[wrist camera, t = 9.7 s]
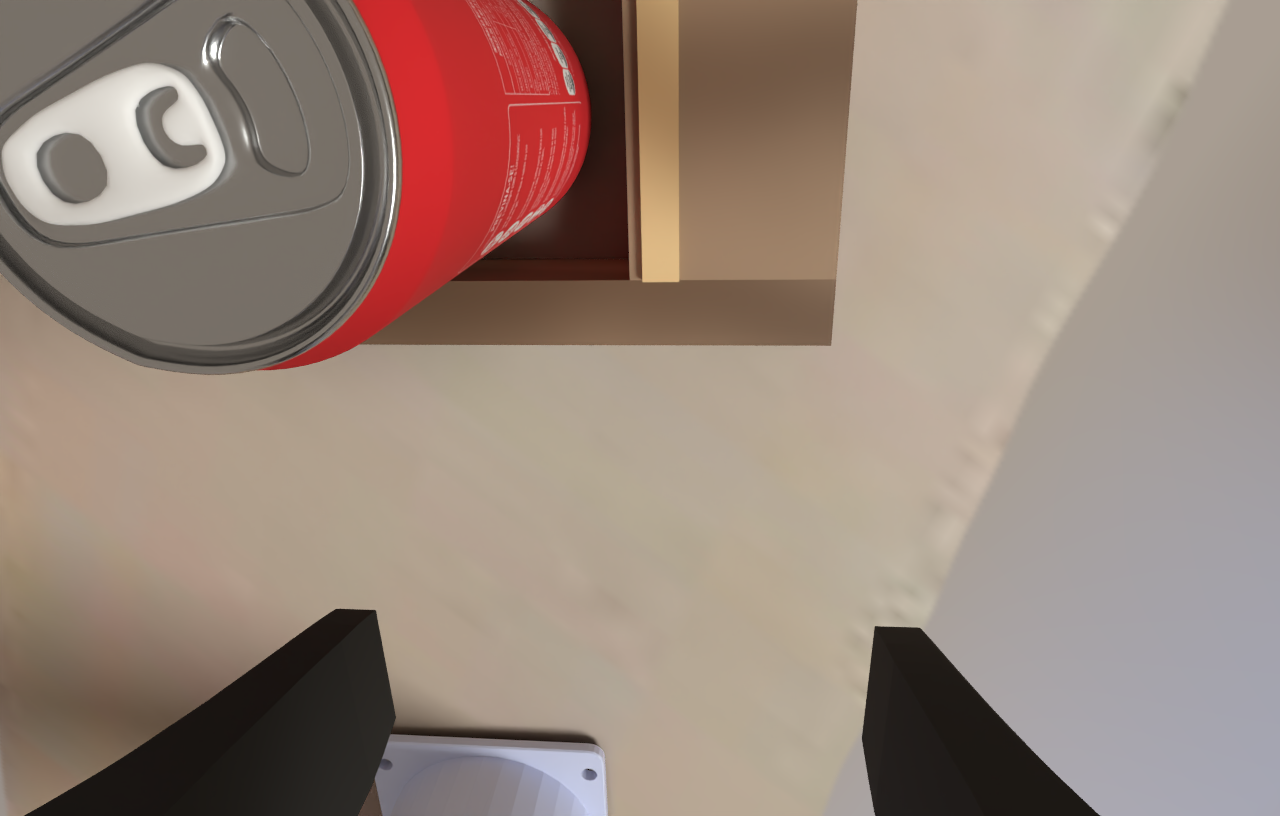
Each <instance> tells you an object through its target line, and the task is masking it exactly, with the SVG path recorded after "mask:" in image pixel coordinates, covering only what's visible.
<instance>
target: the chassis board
mask: <svg viewBox="0 0 1280 816" xmlns="http://www.w3.org/2000/svg"><path fill="white" fill-rule="evenodd" d="M856 11H857V0H622V23H623V59H624V94H625V130H626V166H627V202H628V238H629V259H493V260H478V261H477V262H476V263H474V264H473V265H471V266H470V267H469V268H467V269H466V270H464V271H463V272H462V273H460V274H459V275H457V276H456V277H455V278H453V279H452V280H450V281H449V282H448V283H446V284H445V285H443V286H442V287H440V288H439V289H438V290H436V291H435V292H433V293H432V294H431V295H429V296H428V297H426V298H425V299H424V300H422V301H421V302H419V303H418V304H417V305H415V306H414V307H412V308H411V309H410V310H408V311H407V312H405V313H404V314H403V315H401V316H400V317H398V318H397V319H396V320H394V321H393V322H391V323H390V324H389V325H387V326H386V327H384V328H383V329H382V330H380V331H379V332H377V333H376V334H374V335H373V336H372V337H370V338H369V339H367V340H366V341H364V342H362V343H360V344H407V345H824V346H831V340H832V326H833V313H834V300H835V287H836V274H837V261H838V247H839V234H840V221H841V208H842V195H843V182H844V168H845V155H846V142H847V129H848V116H849V103H850V90H851V76H852V63H853V50H854V37H855V24H856Z"/></svg>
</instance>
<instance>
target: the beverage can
mask: <svg viewBox="0 0 1280 816" xmlns="http://www.w3.org/2000/svg"><path fill="white" fill-rule="evenodd" d="M590 132H591V103H590V95H589V90H588V85H587V82H586V78H585V75H584V72H583V69H582V66H581V64H580V62H579V60H578V57H577V55H576V53H575V52H574V50H573V48H572V46H571V45H570V43H569V41H568V40H567V38H566V37H565V36H564V34H563V33H562V32H561V30H560V29H559V28H558V27H557V26H556V24H555V23H554V22H553V21H552V20H551V19H550V18H549V17H548V16H547V15H546V14H544V13H543V12H542V11H541V10H540V9H538V8H537V7H536V6H534V5H533V4H532V3H530V2H528V1H527V0H0V273H1V274H2V275H3V276H4V277H5V278H6V279H7V280H8V281H9V282H10V283H11V284H12V285H13V286H14V287H15V288H16V289H17V290H18V291H20V292H21V293H22V294H23V295H24V296H25V297H26V298H27V299H29V300H30V301H31V302H32V303H33V304H34V305H36V306H37V307H38V308H39V309H41V310H42V311H43V312H45V313H46V314H47V315H49V316H50V317H51V318H52V319H54V320H55V321H57V322H58V323H60V324H61V325H63V326H64V327H66V328H67V329H69V330H70V331H72V332H74V333H75V334H77V335H79V336H80V337H82V338H84V339H85V340H87V341H89V342H91V343H93V344H95V345H97V346H98V347H100V348H102V349H104V350H106V351H108V352H110V353H112V354H114V355H117V356H119V357H121V358H123V359H125V360H127V361H130V362H132V363H134V364H137V365H140V366H144V367H149V368H155V369H160V370H166V371H173V372H180V373H189V374H203V375H225V374H236V373H244V372H250V371H255V370H277V369H287V368H293V367H299V366H305V365H309V364H312V363H316V362H320V361H323V360H326V359H328V358H331V357H334V356H337V355H339V354H341V353H343V352H345V351H348V350H350V349H352V348H353V347H355V346H357V345H359V344H360V343H362V342H364V341H366V340H367V339H369V338H370V337H372V336H373V335H374V334H376V333H377V332H379V331H380V330H382V329H383V328H384V327H386V326H387V325H389V324H390V323H391V322H393V321H394V320H396V319H397V318H398V317H400V316H401V315H403V314H404V313H405V312H407V311H408V310H410V309H411V308H412V307H414V306H415V305H417V304H418V303H419V302H421V301H422V300H424V299H425V298H426V297H428V296H429V295H431V294H432V293H433V292H435V291H436V290H438V289H439V288H440V287H442V286H443V285H445V284H446V283H448V282H449V281H450V280H452V279H453V278H455V277H456V276H457V275H459V274H460V273H462V272H463V271H464V270H466V269H467V268H469V267H470V266H471V265H473V264H474V263H476V262H477V261H478V260H480V259H481V258H483V257H484V256H485V255H487V254H488V253H490V252H491V251H492V250H494V249H495V248H497V247H498V246H499V245H501V244H502V243H504V242H505V241H506V240H508V239H509V238H511V237H512V236H513V235H515V234H516V233H518V232H519V231H520V230H522V229H523V228H525V227H526V226H527V225H529V224H530V223H532V222H533V221H534V220H536V219H537V218H539V217H540V216H541V215H543V214H544V213H546V212H547V211H548V210H549V209H551V208H552V207H553V206H554V205H555V204H556V203H557V202H558V201H559V200H560V199H561V198H562V197H563V196H564V195H565V194H566V192H567V191H568V190H569V188H570V187H571V186H572V184H573V182H574V181H575V179H576V177H577V175H578V173H579V171H580V169H581V167H582V164H583V162H584V159H585V156H586V153H587V149H588V145H589V139H590Z"/></svg>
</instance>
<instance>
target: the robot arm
mask: <svg viewBox="0 0 1280 816" xmlns="http://www.w3.org/2000/svg"><path fill="white" fill-rule="evenodd" d="M395 719H396V716H395V711H394V705H393V700H392V695H391V689H390V684H389V679H388V673H387V668H386V663H385V657H384V652H383V646H382V641H381V636H380V630H379V625H378V620H377V614H376V610H356V609H335V610H334V611H332V612H331V613H329V614H328V615H326V616H324V617H323V618H322V619H320V620H319V621H317V622H316V623H314V624H313V625H311V626H310V627H309V628H307V629H306V630H304V631H303V632H302V633H300V634H299V635H298V636H296V637H295V638H293V639H292V640H291V641H289V642H288V643H287V644H285V645H284V646H283V647H281V648H280V649H278V650H277V651H276V652H274V653H273V654H272V655H270V656H269V657H268V658H266V659H265V660H263V661H262V662H261V663H259V664H258V665H257V666H255V667H254V668H252V669H251V670H250V671H248V672H247V673H245V674H244V675H243V676H241V677H240V678H239V679H237V680H236V681H234V682H233V683H232V684H230V685H229V686H227V687H226V688H225V689H223V690H222V691H220V692H219V693H218V694H216V695H215V696H214V697H212V698H211V699H209V700H208V701H207V702H205V703H204V704H202V705H201V706H199V707H198V708H196V709H195V710H193V711H192V712H190V713H189V714H187V715H186V716H184V717H183V718H181V719H180V720H178V721H177V722H175V723H174V724H172V725H171V726H169V727H168V728H166V729H165V730H163V731H162V732H160V733H159V734H157V735H156V736H154V737H153V738H152V739H150V740H149V741H147V742H146V743H144V744H143V745H141V746H140V747H138V748H137V749H135V750H134V751H132V752H131V753H129V754H127V755H126V756H124V757H123V758H121V759H120V760H118V761H116V762H115V763H113V764H112V765H110V766H108V767H107V768H105V769H103V770H102V771H100V772H99V773H97V774H95V775H94V776H92V777H90V778H89V779H87V780H85V781H84V782H82V783H80V784H79V785H77V786H75V787H73V788H72V789H70V790H68V791H67V792H65V793H63V794H61V795H60V796H58V797H56V798H54V799H53V800H51V801H49V802H48V803H46V804H44V805H42V806H41V807H39V808H37V809H35V810H34V811H32V812H30V813H28V814H26V815H25V816H358V814H359V812H360V810H361V808H362V806H363V803H364V801H365V799H366V797H367V795H368V793H369V791H370V789H371V787H372V784H373V782H374V779H375V782H376V787H377V792H378V797H379V802H380V806H381V811H382V816H608V806H607V787H606V768H605V755H604V751H603V750H602V749H601V748H600V747H598V746H597V745H595V744H590V743H569V742H547V741H525V740H504V739H482V738H461V737H439V736H417V735H396V734H391V731H392V728H393V725H394V722H395ZM862 742H863V748H864V755H865V761H866V767H867V773H868V779H869V785H870V790H871V795H872V801H873V807H874V812H875V816H1100V815H1099V814H1098V813H1096V812H1095V811H1094V810H1093V809H1092V808H1091V807H1090V806H1089V805H1088V804H1087V803H1086V802H1085V801H1083V799H1081V798H1080V797H1079V796H1078V795H1077V794H1076V793H1075V792H1074V791H1073V790H1072V789H1071V788H1070V787H1069V786H1068V785H1067V784H1066V783H1065V782H1063V781H1062V780H1061V779H1060V778H1059V777H1058V776H1057V775H1056V774H1055V773H1054V772H1053V771H1052V770H1051V769H1050V768H1049V767H1048V766H1047V765H1046V764H1045V763H1044V762H1043V761H1042V760H1041V759H1040V758H1039V757H1038V756H1037V755H1036V754H1035V753H1034V752H1033V751H1032V750H1031V749H1030V748H1029V747H1028V746H1027V745H1026V743H1025V742H1024V741H1022V739H1021V738H1020V737H1019V736H1018V735H1017V734H1016V733H1015V732H1014V731H1013V730H1012V729H1011V728H1010V727H1009V726H1008V725H1007V724H1006V723H1005V722H1004V721H1003V719H1002V718H1001V717H1000V716H999V715H998V714H997V713H996V712H995V711H994V710H993V709H992V708H991V707H990V706H989V704H988V703H987V702H986V701H985V700H984V699H983V698H982V697H981V696H980V695H979V693H978V692H977V691H976V690H975V689H974V688H973V687H972V686H971V685H970V683H969V682H968V681H967V680H966V679H965V678H964V677H963V676H962V674H961V673H960V672H959V671H958V670H957V669H956V668H955V667H954V665H953V664H952V663H951V662H950V661H949V660H948V659H947V658H946V656H945V655H944V654H943V653H942V652H941V651H940V650H939V648H938V647H937V646H936V645H935V644H934V643H933V641H932V640H931V639H930V638H929V637H928V636H927V635H926V634H925V633H924V632H923V631H922V630H921V628H911V627H880V626H875V630H874V638H873V647H872V656H871V664H870V673H869V682H868V690H867V699H866V708H865V716H864V725H863V733H862ZM386 759H388V760H386ZM587 769H592V770H593V771H590V770H587Z"/></svg>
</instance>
